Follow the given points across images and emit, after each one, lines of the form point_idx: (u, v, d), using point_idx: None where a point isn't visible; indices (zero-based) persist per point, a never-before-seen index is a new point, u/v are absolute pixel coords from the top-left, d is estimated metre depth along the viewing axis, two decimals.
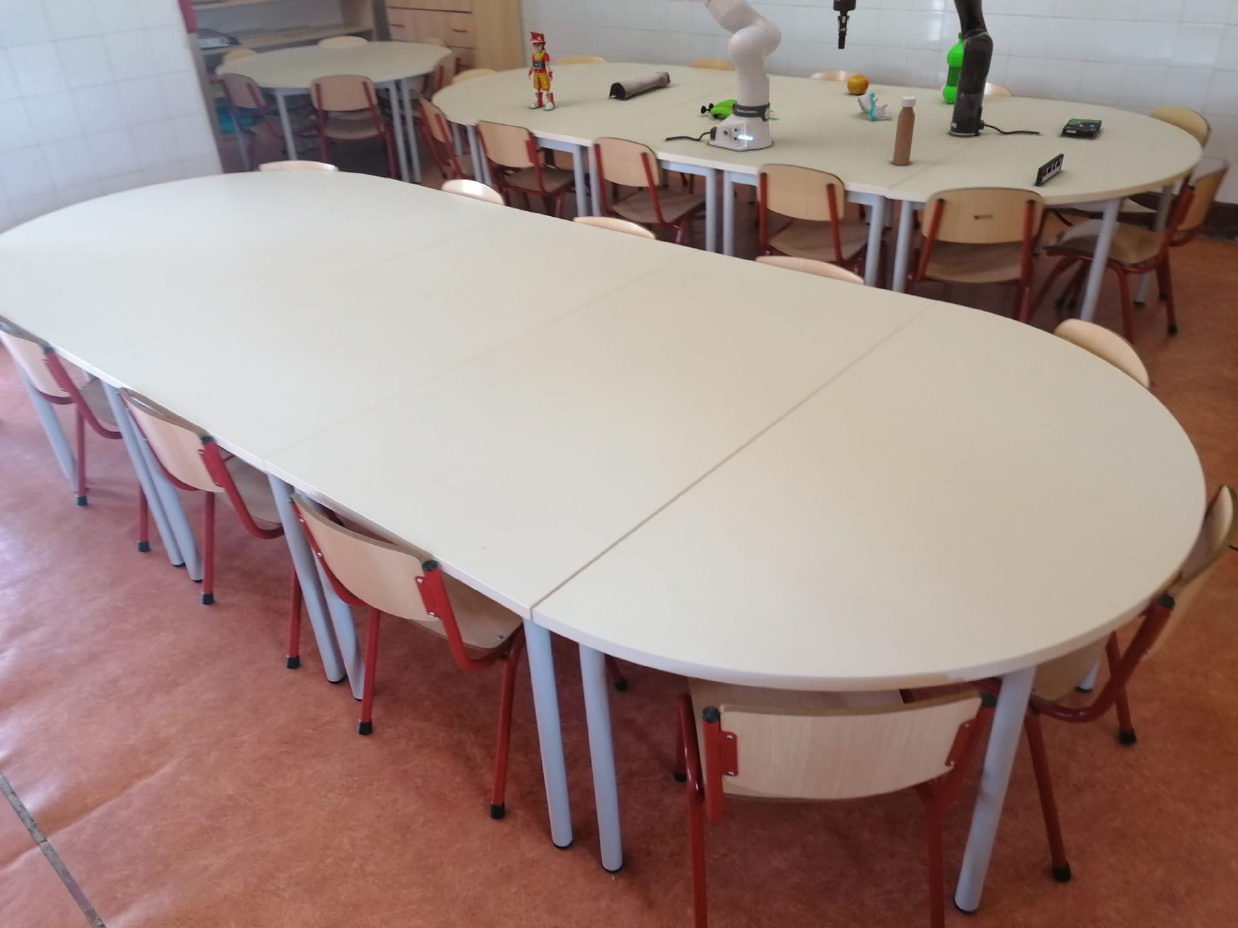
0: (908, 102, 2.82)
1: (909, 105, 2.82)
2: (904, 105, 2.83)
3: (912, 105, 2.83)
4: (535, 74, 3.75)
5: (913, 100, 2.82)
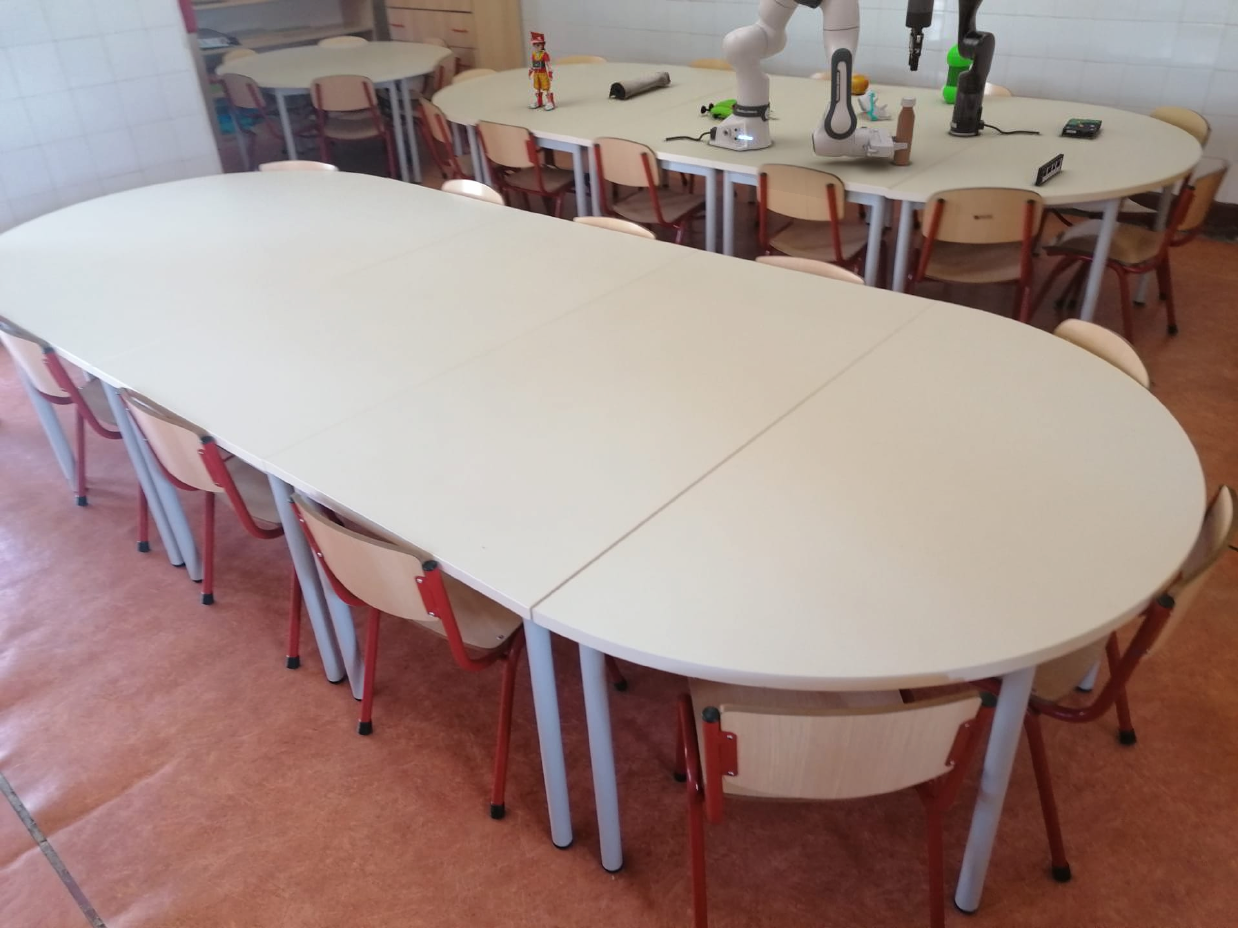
0: (908, 102, 2.82)
1: (909, 105, 2.82)
2: (904, 105, 2.83)
3: (912, 105, 2.83)
4: (535, 74, 3.75)
5: (913, 100, 2.82)
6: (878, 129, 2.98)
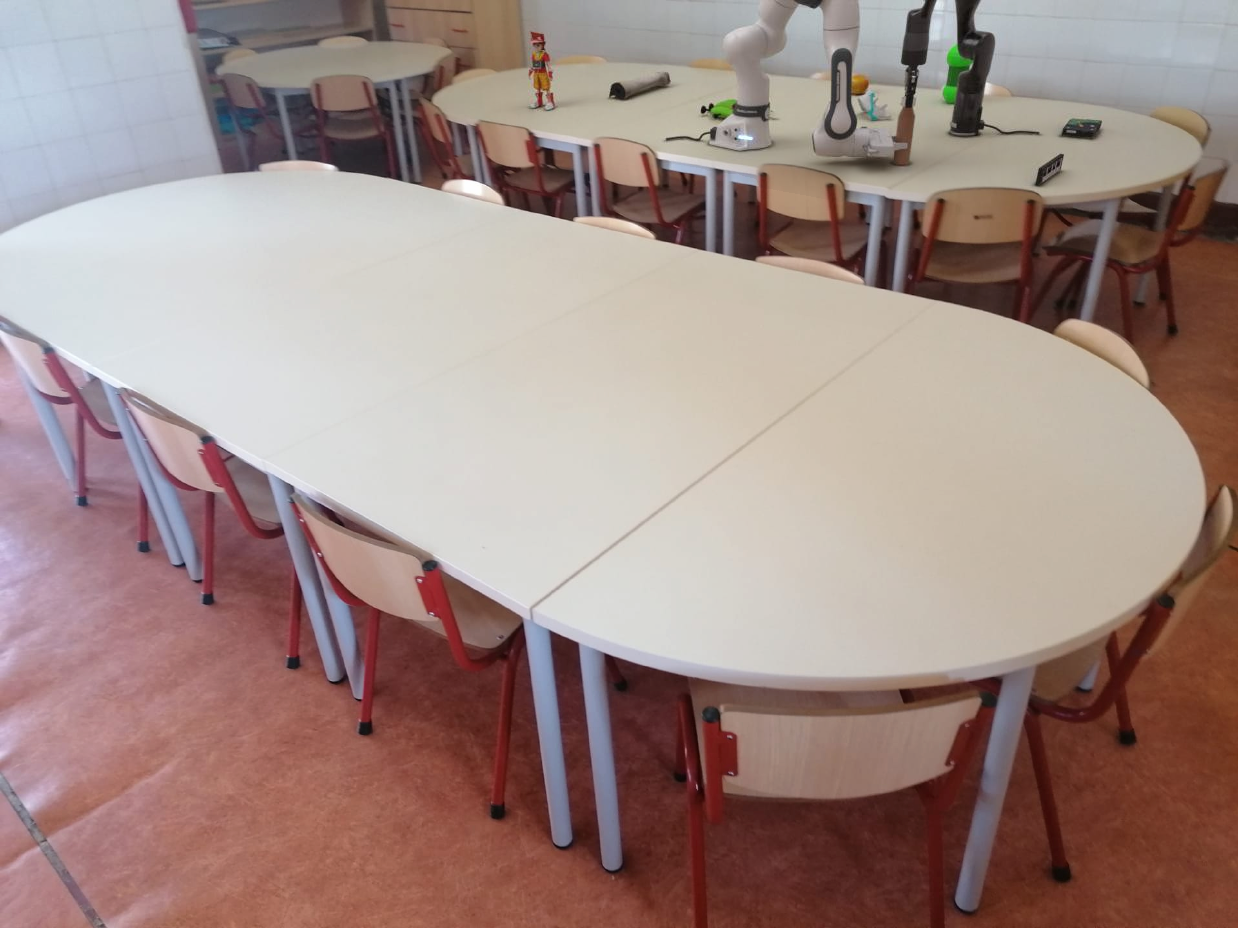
0: None
1: None
2: (904, 105, 2.83)
3: (912, 105, 2.83)
4: (535, 74, 3.75)
5: (913, 100, 2.82)
6: (878, 129, 2.98)
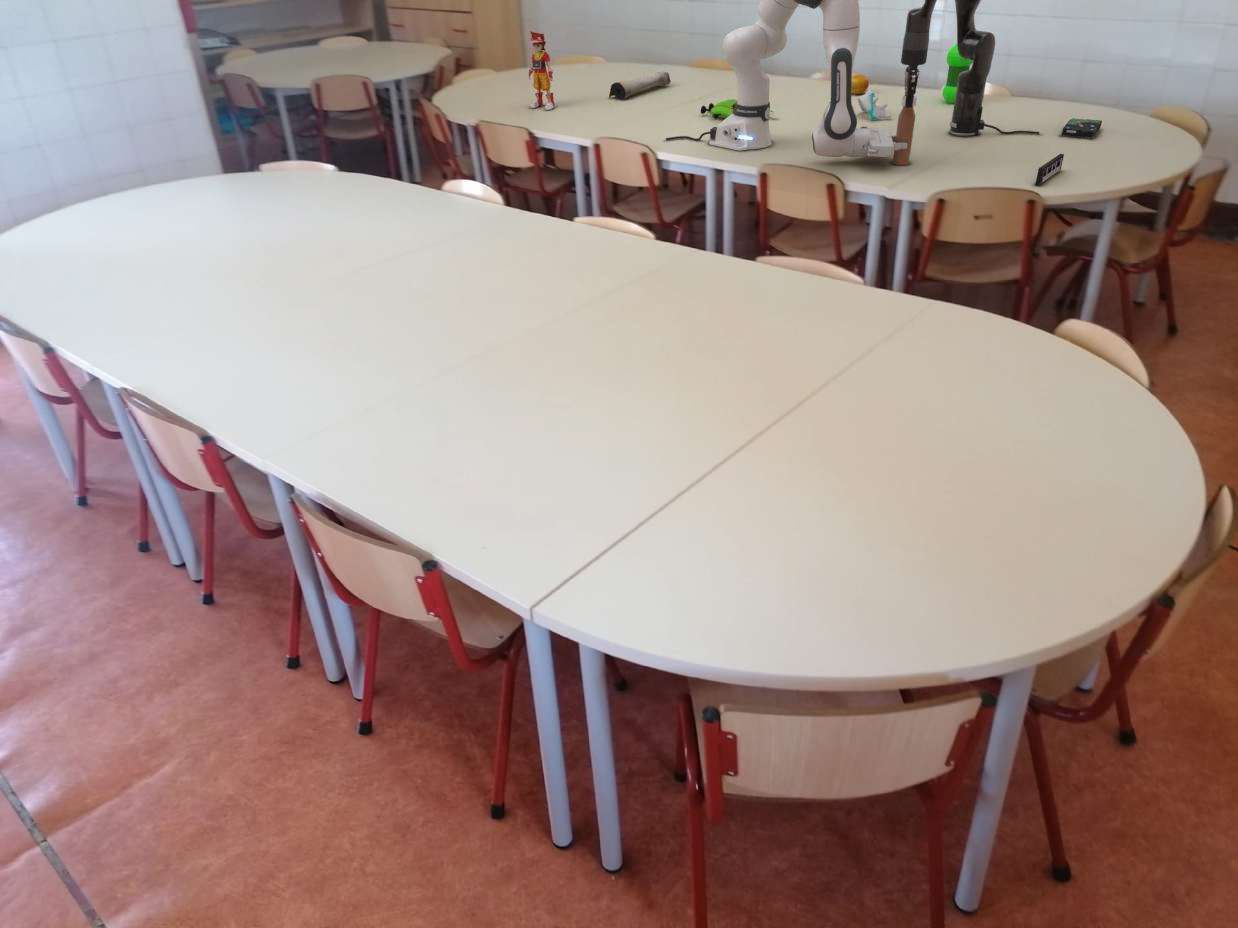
0: None
1: None
2: (914, 104, 2.83)
3: None
4: (535, 74, 3.75)
5: None
6: (878, 129, 2.98)
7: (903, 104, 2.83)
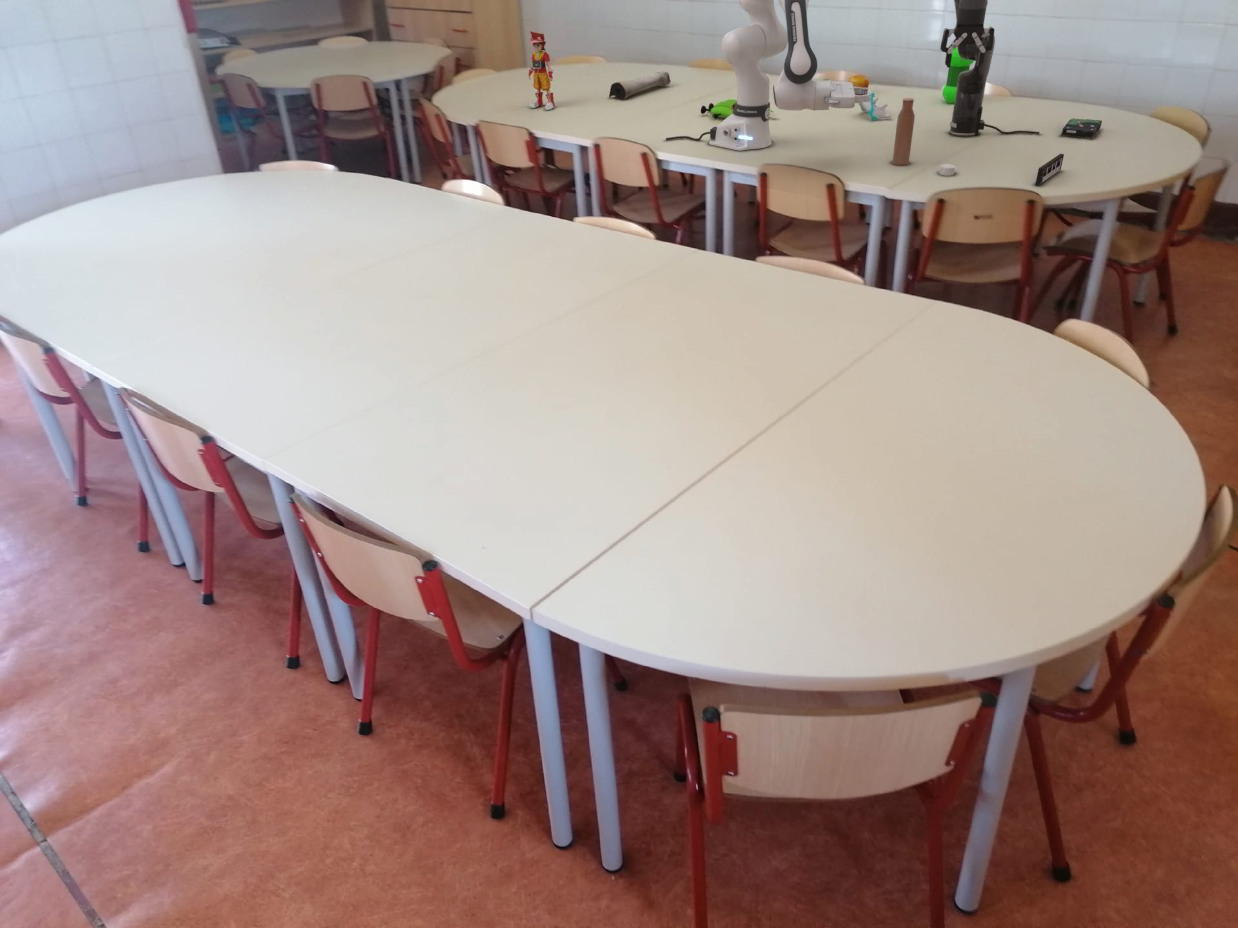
0: None
1: None
2: None
3: None
4: (535, 74, 3.75)
5: None
6: (841, 82, 2.92)
7: (952, 173, 2.81)
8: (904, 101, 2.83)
